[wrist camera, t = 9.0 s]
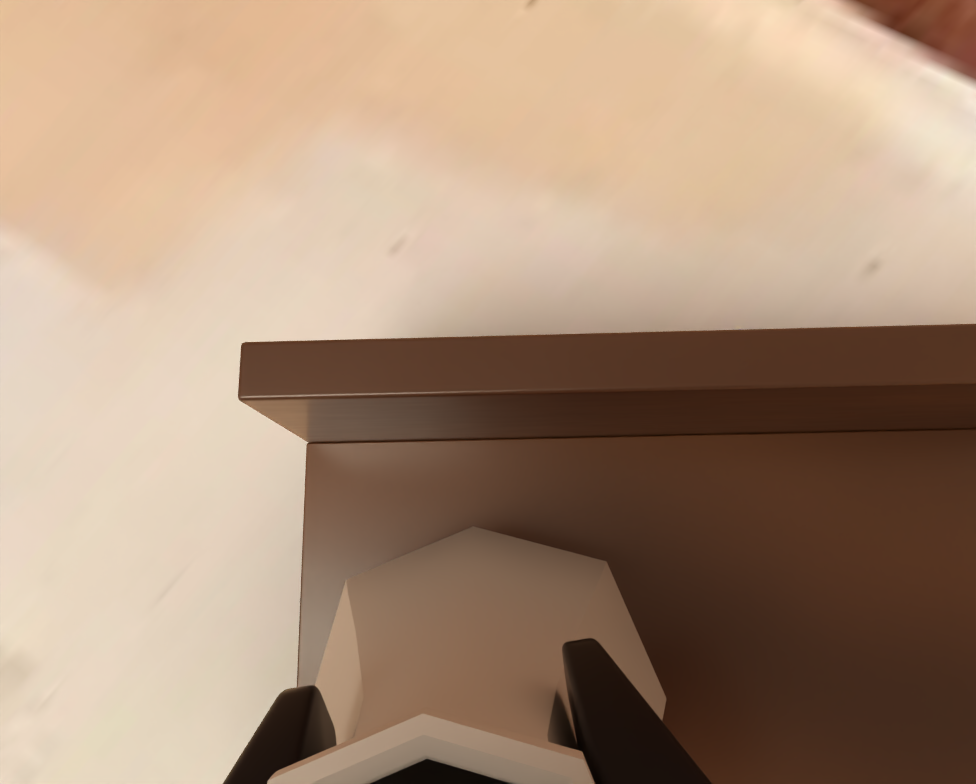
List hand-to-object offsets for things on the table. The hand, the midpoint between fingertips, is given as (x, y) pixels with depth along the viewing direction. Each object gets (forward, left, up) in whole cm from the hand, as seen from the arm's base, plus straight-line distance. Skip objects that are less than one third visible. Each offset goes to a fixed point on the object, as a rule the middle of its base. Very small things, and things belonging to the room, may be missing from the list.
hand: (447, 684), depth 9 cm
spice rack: (-2, -5, -13) cm, 14 cm away
